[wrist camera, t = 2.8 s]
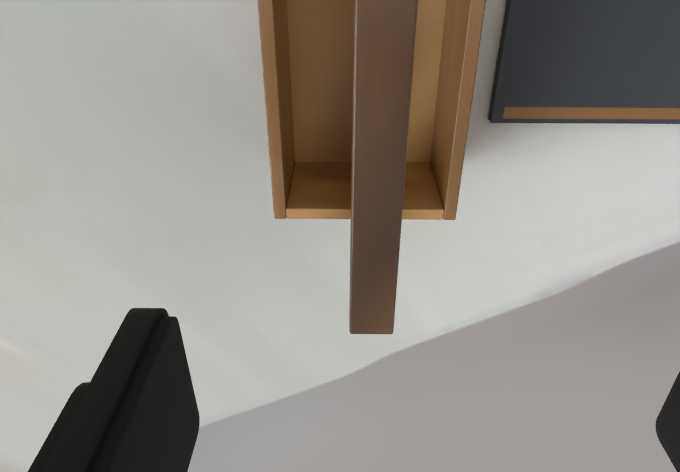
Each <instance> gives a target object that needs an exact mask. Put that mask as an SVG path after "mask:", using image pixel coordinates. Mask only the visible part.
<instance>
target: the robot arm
mask: <svg viewBox="0 0 680 472" xmlns="http://www.w3.org/2000/svg"><path fill="white" fill-rule="evenodd" d="M198 430H199V412H198V408H197V403H196V399H195V394H194V390H193V385H192V381H191V376H190V372H189V367H188V363H187V358H186V354H185V349H184V345H183V340H182V336H181V332H180V327H179V323H178V319H177V318H176V317H169V316H168V313H167V311H166V310H165V309H163V308H132V309H131V310H129V312H128V313H127V315H126V317H125V319H124V320H123V322H122V324H121V326H120V328H119V330H118V332H117V333H116V335H115V337H114V339H113V341H112V343H111V345H110V346H109V348H108V350H107V352H106V354H105V356H104V358H103V359H102V361H101V363H100V365H99V367H98V369H97V371H96V372H95V374H94V376H93V378H92V380H91V382H87V383H82V384H80V385H79V386H78V387H76V389H75V390H74V392H73V393H72V394H71V396H70V398H69V399H68V401H67V403H66V405H65V407H64V408H63V410H62V412H61V414H60V415H59V417H58V419H57V421H56V423H55V424H54V426H53V428H52V430H51V431H50V433H49V435H48V437H47V439H46V440H45V442H44V444H43V446H42V447H41V449H40V451H39V453H38V455H37V456H36V458H35V460H34V462H33V463H32V465H31V467H30V469H29V471H28V472H187V471H188V467H189V464H190V460H191V456H192V453H193V449H194V446H195V442H196V439H197V435H198ZM656 432H657V436H658V438H659V440H660V443H661V444H662V446H663V448H664V449H665V451H666V453H667V455H668V457H669V458H670V460H671V462H672V463H673V465H674V467H675V469H676V471H677V472H680V372H679V374H678V376H677V378H676V380H675V382H674V384H673V387H672V388H671V391H670V393H669V395H668V397H667V399H666V401H665V403H664V405H663V407H662V409H661V411H660V413H659V416H658V417H657V420H656Z"/></svg>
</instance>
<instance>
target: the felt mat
mask: <svg viewBox="0 0 680 472" xmlns="http://www.w3.org/2000/svg"><path fill="white" fill-rule="evenodd" d="M488 119H489V121H490V122H491V123H647V124H680V0H507V5H506V12H505V18H504V24H503V30H502V37H501V43H500V49H499V55H498V62H497V68H496V74H495V81H494V87H493V93H492V99H491V106H490V112H489V118H488Z"/></svg>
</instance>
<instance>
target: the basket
mask: <svg viewBox="0 0 680 472" xmlns="http://www.w3.org/2000/svg"><path fill="white" fill-rule="evenodd" d="M485 2H486V0H258V11H259V24H260V37H261V50H262V63H263V76H264V90H265V103H266V116H267V129H268V142H269V155H270V168H271V181H272V194H273V207H274V218H275V219H286V217H287V218H288V219H351V239H350V307H349V323H350V333H351V334H392V333H393V328H394V314H395V301H396V288H397V274H398V261H399V248H400V235H401V221H402V219H444V220H455V218H456V211H457V204H458V196H459V189H460V182H461V175H462V168H463V160H464V153H465V146H466V139H467V132H468V124H469V117H470V110H471V103H472V96H473V89H474V81H475V74H476V67H477V60H478V53H479V45H480V38H481V31H482V24H483V17H484V10H485Z"/></svg>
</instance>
